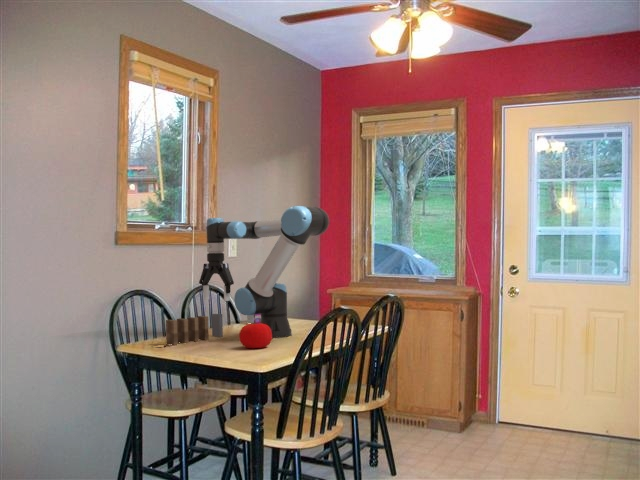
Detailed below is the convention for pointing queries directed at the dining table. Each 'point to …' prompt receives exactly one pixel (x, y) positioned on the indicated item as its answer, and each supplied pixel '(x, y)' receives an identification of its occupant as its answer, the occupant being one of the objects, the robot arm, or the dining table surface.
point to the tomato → (255, 335)
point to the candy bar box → (254, 318)
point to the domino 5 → (217, 325)
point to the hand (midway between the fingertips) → (216, 300)
